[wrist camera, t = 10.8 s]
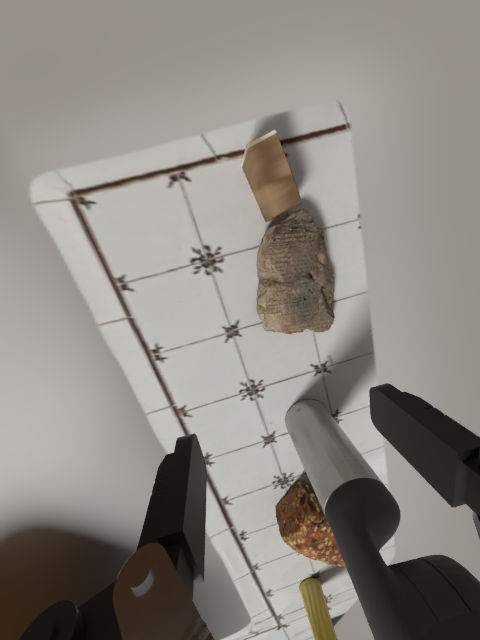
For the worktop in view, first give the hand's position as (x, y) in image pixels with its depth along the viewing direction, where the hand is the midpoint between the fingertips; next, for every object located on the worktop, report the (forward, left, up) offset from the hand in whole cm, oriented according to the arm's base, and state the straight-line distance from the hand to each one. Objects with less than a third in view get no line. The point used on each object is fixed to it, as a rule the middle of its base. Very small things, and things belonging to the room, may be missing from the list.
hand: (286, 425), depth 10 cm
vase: (-84, -4, -30) cm, 89 cm away
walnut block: (+12, -10, -27) cm, 31 cm away
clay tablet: (+2, -12, -31) cm, 33 cm away
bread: (-54, -9, -30) cm, 62 cm away
